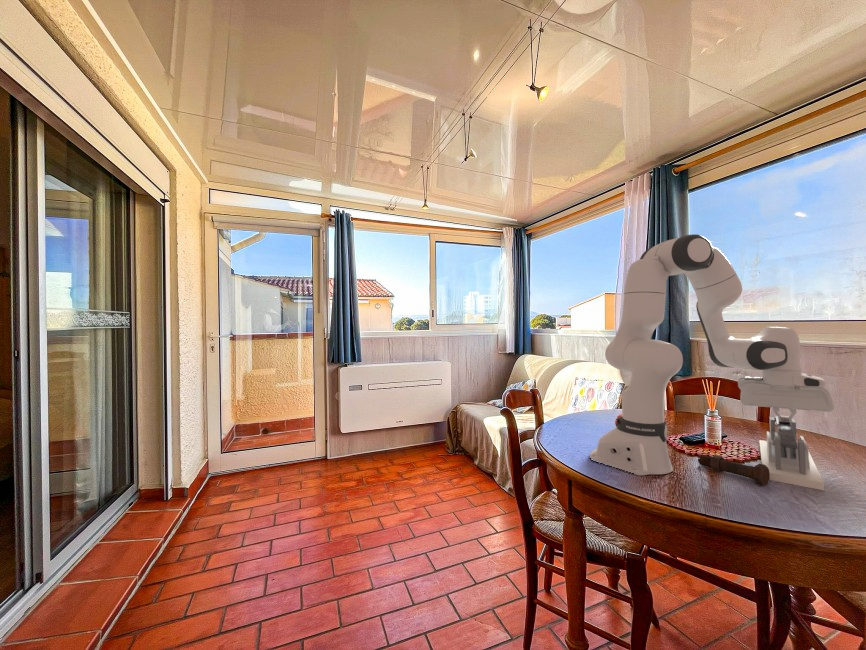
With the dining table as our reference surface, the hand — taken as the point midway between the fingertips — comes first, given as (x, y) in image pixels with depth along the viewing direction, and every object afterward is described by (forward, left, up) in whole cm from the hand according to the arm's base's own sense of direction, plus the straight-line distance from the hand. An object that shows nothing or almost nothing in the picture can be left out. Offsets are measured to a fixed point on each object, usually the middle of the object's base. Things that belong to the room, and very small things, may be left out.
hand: (785, 422), depth 106 cm
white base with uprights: (0, -7, -11) cm, 13 cm away
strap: (0, -7, -2) cm, 7 cm away
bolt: (-13, -24, -12) cm, 30 cm away
